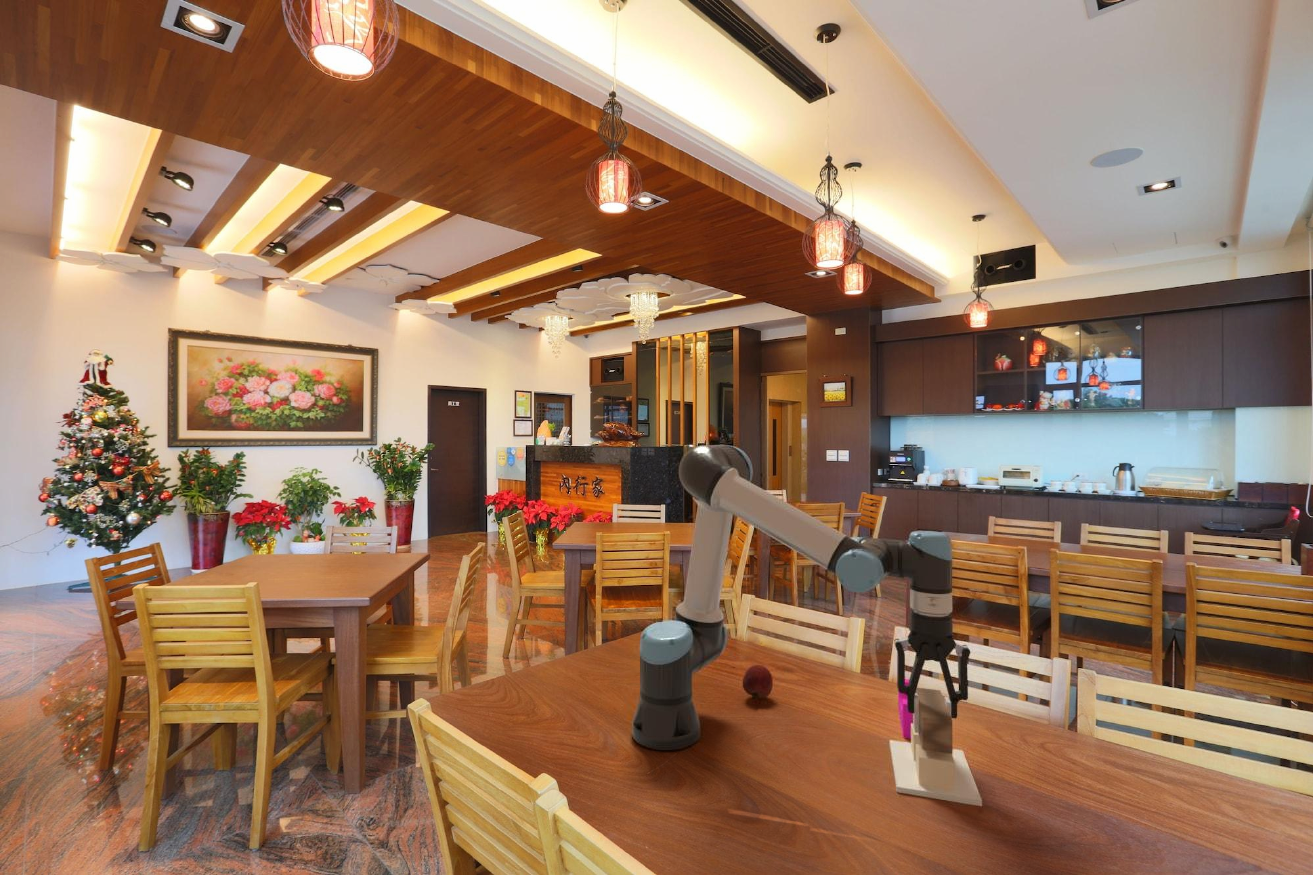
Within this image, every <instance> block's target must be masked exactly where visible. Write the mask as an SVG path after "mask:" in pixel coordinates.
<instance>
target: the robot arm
mask: <svg viewBox="0 0 1313 875" xmlns="http://www.w3.org/2000/svg"><path fill="white" fill-rule="evenodd" d="M753 475H754V470H753V464H752V461H751V459H750V457H749V456H748V455H747V454H746V452H745V451H744V450H742V449H741V448H739V447H737V446H733V445H728V444H714V445H713V444H707V445H706V444H701V445H698V446H695V447H694V446H693V448H691V449H689V450H688V451H687V452H686V453H685V454H684V455H683V457H682V458H681V460H680V463H679V467H678V477H679V481H680V483H681V485H682V487H683V488H684V489H685V491H686V492H688V493H689V494H690V495H691V496H692V499H693V500H694V502H695V503H696V505H697V508H696V510H697V511H696V517H695V523H694V529H693V536H692V542H691V543H692V544H691V550H690V556H689V561H688V562H689V564H688V571H687V575H686V577H687V578H686V583H685V589H684V597H683V601H682V602H680V603H679V604H678V605H676V608H675V613H674V620H672V619H671V620H670V619H669V620H662V621H661V622H660V621H657V622H654V623H652V624H649V625H648V626H646V627H645V628H644V630H643V631H642V633H641V635H640V642H639V643H640V644H639V648H638V649H639V650H638V651H639V652H638V653H639V700H638V702H637V703H638V704H637V706H636V710H635V712H634V716H633V719H632V723H631V734H632V738H633V739H634V740H635V742H637V743H638V744H639V745H640V746H641V745H642V746H643V747H646V748H648V749H651V750H658V751H659V750H660V751H676V750H681V749H685V748H688V747H690V746H692V745H694V744H695V743H697V741H698V740H699V739H700V736H701V724H700V719H699V716H698V713H697V709H696V707H695V702H694V700H693V675H694V674H696V673H697V672H699V671H701V670H702V669H703V668H705V667H707V666H708V665H710V664H712V663H713V662H715V661H716V660H717V659H718V658H719V657H720V656H721V654H723V652H724V650H725V648H726V646H727V641H728V631H727V628H726V626H725V624H724V617H725V616H724V613H723V611H722V610H721V609H720V603H721V602H720V601H721V595H722V587H723V582H724V574H725V571H726V570H725V569H726V568H725V567H726V562H727V555H728V551H729V550H728V549H729V542H730V536H731V529H732V523H733V517H734V516H735V517H737V518H739V519H740V520H742V521H744V522H746V523H747V524H749V525H750V526H752V527H754V528H756V529H757V530H759V531H761V532H763V533H764V534H766V535H768V536H769V537H771V538H772V539H774V540H776V541H778V542H779V543H780V544H783V545H784V546H786V547H788V548H789V549H791V550H793V551H794V552H797V553H798V554H800V555H801V556H803V557H805V558H807V559H808V560H809V561H811V562H813V563H815V564H816V565H818V566H820V567H821V568H823V569H825V570H827V571H828V572H830V573H832V574H833V575H835V576H836V579H837V580H838V582H839V583H840V585H841V586H842V587H843V588H845V589H846V590H848V591H850V592H853V593H866V592H868V591H870V590H873V589H874V588H876V587H877V586H878V585H879V584H881V582H882V580H883V579H885V578H895V579H896V578H897V579H904V580H905V579H908V580H909V607H910V608H911V609H912V610H910V612H909V619H910V620H909V627H910V628H909V629H910V630H909V634H908V635H907V638H903V639H899V638H894V640H893V641H894V647H895V649H896V651H897V653H896V654H897V655H896V657H897V658H896V660H897V661H896V662H897V663H896V664H897V665H896V667H897V669H896V686H897V691H899V692H900V693H904V694H906V695H907V708H908V711H909V713H913V727H914V731H915V732H916V733H919V698H918V695H917V694H916V689H917V688H918V685H919V681H920V679H921V678H920V677H921V674H922V670H923V667H924V665H925V662H926V661H934V662H937V663H939V666H940V668H941V672H942V676H943V680H944V683H945V686H946V690H947V694H948V696H944V701H945V704H946V706H947V709H948V711H949V714H950V716H951V719H957V718H958V704H959V702H960V701H967V700H969V687H968V686H969V685H968V684H969V682H968V677H969V676H968V675H969V674H968V661H969V658H970V655H971V649H970V648H969V646H968V645H967V644H960V643H957V642H956V640H955V639H954V636H953V635H954V634H953V632H954V630H953V629H954V627H953V618H954V617H953V615H952V614H951V613H952V612H953V558H954V557H953V551H952V540H951V537H950V536H949V535H948V534H947V533H945V532H940V531H933V530H915V531H912V532H910V534H909V538H908V539H906V540H898V539H886V538H875V537H869V536H863V537H861V536H860V537H858V536H853V537H849V536H847V534H844V533H843V532H840V530H837V529H835V528H833V527H832V526H830V525H828V524H826V523H824V522H823V521H821V520H819V519H817V518H815V517H813V516H812V515H810V514H808V513H806V512H804V511H803V510H801V509H799V508H797V507H796V506H793V505H792V504H790V503H788V502H786V501H785V500H783V499H781V498H779V497H777V496H776V495H774V494H773V493H771V492H768V491H766V490H765V489H764V488H761V487H759V486H758V485H755V484H754V483H752V479H753ZM908 646H910V647H911V648H912V649H913V651H914V652H915V656H914V657H915V658H914V662H913V666H912V669H911V672H910V676H909V683H908V686H906V685H905V679H906V654H905V652H907V651H908ZM954 650H955V654H956V656H957V677H958V679H957V680H958V682H957V683H958V690H957V691H956V688H955V684H954V682H953V679H952V675H951V672H950V669H949V663H948V660H947V658H948V656H949V655H950V654H951V653H952V652H953V651H954Z"/></svg>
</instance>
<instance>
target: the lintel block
mask: <svg viewBox="0 0 1313 875" xmlns="http://www.w3.org/2000/svg"><path fill="white" fill-rule="evenodd" d="M916 694H917V695H918V698H919V733H918V734H919V737H920V741H921V745H922V749H923V750H928V751H935V752H942V753H949V754H953V749H954V747H953V745H954V744H953V743H954V742H953V740H954V738H953V718H951V716H950V714H949V711H948V709H947V706H946V704H945V697H944V696H943V693H942V691H941V689H934V688H933V689H932V688H922V687H917V689H916Z"/></svg>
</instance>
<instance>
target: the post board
mask: <svg viewBox="0 0 1313 875" xmlns="http://www.w3.org/2000/svg"><path fill="white" fill-rule="evenodd" d="M889 749H890V755H891V762H892V769H893V775H894V781H895V782H894V783H895V790H896V793H899V794H904V795H905V794H906V795H911V796H917V797H923V798H930V799H936V800H943V801H948V802H954V803H960V804H966V805H973V806H977V807H978V806H979V807H983V799H982V796H981V795H980V792H979V790H978V786H977V784H976V780H975V779H974V777H973V773H972V771H971V769H970V768H971V767H969V764H968V760H967V758H966V756H965V753H964V751H963V750H962V749H956V748H955V749H954V748H953V754H949V753H942V752H935V751H928V750H923V749H922V745H921V741H920V737H919V734H918V733H916V732H915V731H914V727H913V723H911V739H910V742H906V741H901V740H894V739H893V740H892V739H889Z"/></svg>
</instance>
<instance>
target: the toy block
mask: <svg viewBox="0 0 1313 875" xmlns="http://www.w3.org/2000/svg"><path fill="white" fill-rule="evenodd" d="M909 679H910V678H909ZM909 679H907V678H905V685H906V686H908V683H909ZM897 691H898V690H897ZM897 694H898V698H897V699H898V701H897V702H898V704H897V705H898V707H897V708H898V715H899V720H900V725H901V726H900V727H901V731H902V737H903V739H910V740H911V723H913V713H909V711H908V708H907V695H906V694H904V693H900V692H899V691H898V693H897Z"/></svg>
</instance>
